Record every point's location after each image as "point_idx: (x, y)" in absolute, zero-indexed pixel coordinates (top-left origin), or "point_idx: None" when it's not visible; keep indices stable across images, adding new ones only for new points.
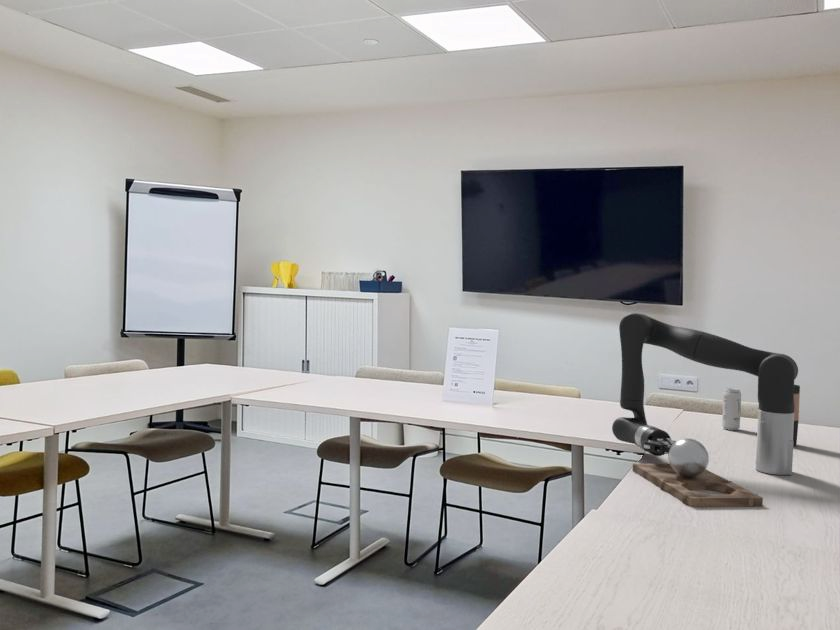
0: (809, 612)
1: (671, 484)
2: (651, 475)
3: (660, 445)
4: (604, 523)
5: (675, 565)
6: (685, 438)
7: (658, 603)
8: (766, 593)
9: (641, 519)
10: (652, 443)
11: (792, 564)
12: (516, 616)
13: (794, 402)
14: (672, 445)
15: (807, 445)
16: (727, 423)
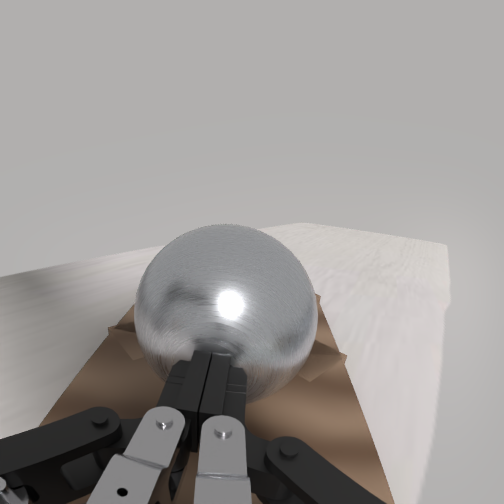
0: (308, 224)
1: (323, 335)
2: (362, 415)
3: (309, 449)
4: (432, 283)
5: (369, 246)
6: (243, 233)
7: (383, 237)
8: (321, 230)
9: (394, 285)
10: (374, 495)
11: (278, 235)
12: (440, 244)
13: None
14: (306, 283)
15: None
16: None
